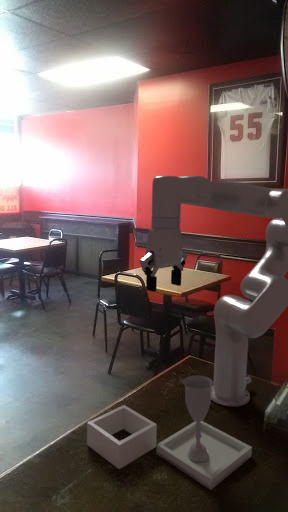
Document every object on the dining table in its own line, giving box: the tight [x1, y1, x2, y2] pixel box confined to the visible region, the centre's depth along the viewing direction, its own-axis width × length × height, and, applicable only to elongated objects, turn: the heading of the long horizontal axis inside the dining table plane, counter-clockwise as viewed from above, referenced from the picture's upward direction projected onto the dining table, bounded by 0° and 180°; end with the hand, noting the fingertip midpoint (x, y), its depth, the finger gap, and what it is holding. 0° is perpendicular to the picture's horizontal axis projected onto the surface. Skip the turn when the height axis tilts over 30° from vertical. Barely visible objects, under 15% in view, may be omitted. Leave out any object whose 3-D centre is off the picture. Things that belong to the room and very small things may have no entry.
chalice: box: [182, 374, 214, 462], centre depth 95 cm, size 7×7×18 cm
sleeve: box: [86, 404, 158, 470], centre depth 100 cm, size 12×12×6 cm
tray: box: [155, 420, 253, 491], centre depth 97 cm, size 16×16×2 cm
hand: (163, 287), depth 109 cm, fingers open, 9 cm apart
